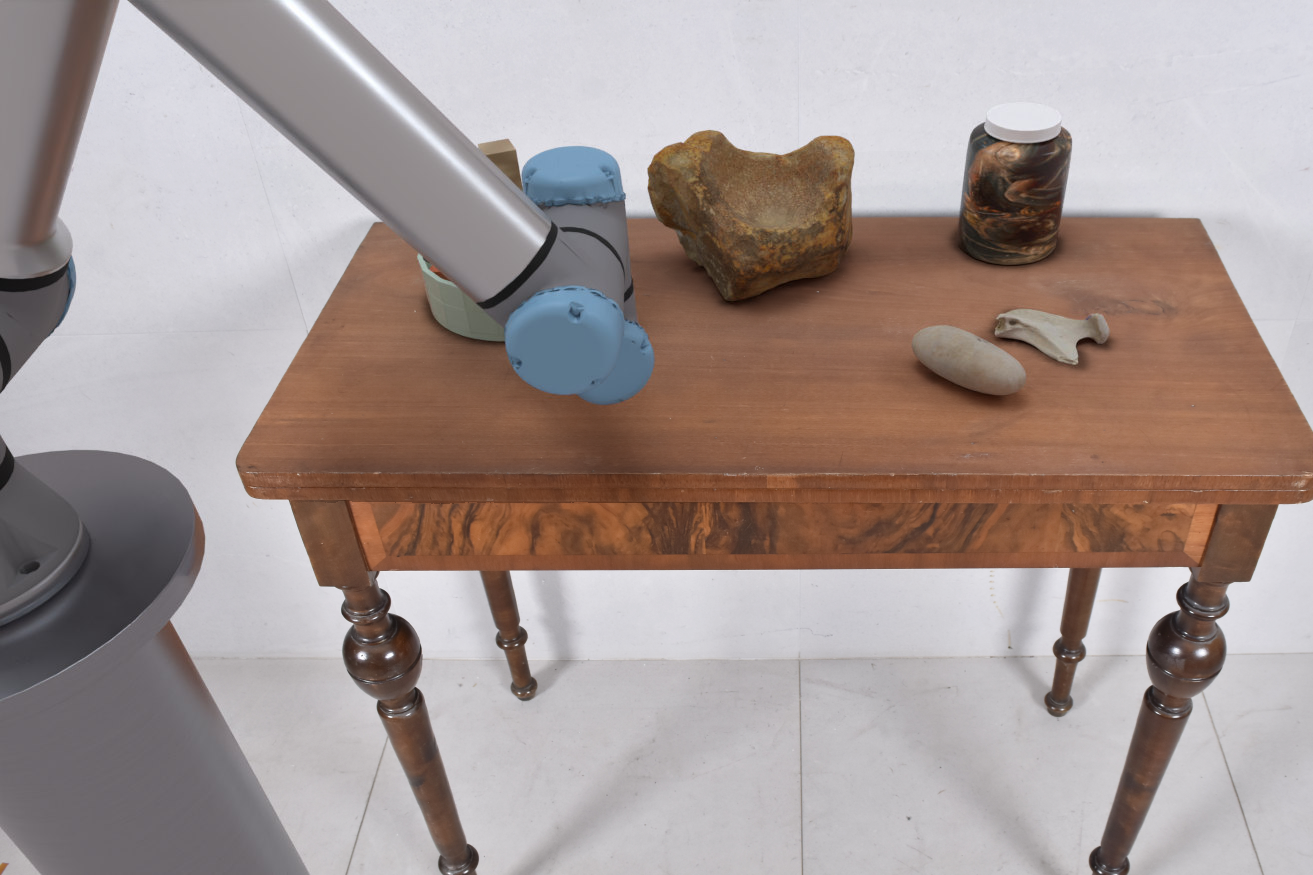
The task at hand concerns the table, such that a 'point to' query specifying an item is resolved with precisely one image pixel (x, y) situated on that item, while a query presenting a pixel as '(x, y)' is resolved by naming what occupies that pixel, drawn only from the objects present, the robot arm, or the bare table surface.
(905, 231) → the table surface
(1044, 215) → the jar
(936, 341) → the stone
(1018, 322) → the fossil
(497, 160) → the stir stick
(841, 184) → the rough brown rock
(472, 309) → the bowl
